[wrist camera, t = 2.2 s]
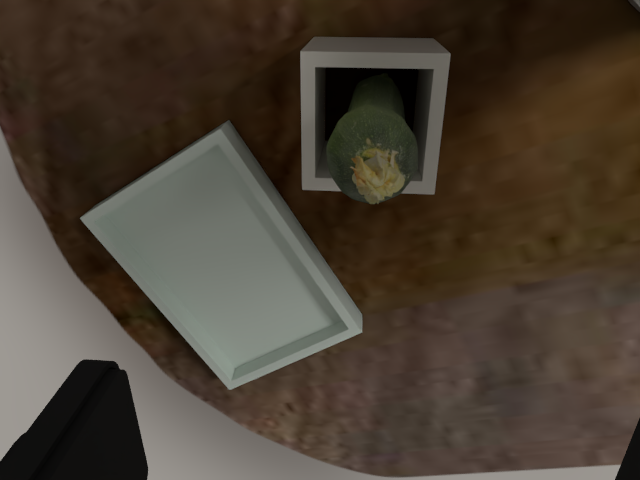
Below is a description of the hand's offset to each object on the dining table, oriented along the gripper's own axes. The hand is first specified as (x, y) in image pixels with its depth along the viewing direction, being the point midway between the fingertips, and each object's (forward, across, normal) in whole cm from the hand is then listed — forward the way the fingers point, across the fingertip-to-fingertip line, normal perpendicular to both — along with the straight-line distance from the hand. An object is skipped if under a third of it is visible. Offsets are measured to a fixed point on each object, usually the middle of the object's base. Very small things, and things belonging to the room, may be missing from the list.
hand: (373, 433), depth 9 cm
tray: (+30, +11, +14) cm, 35 cm away
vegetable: (+30, 0, 0) cm, 30 cm away
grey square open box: (+30, 0, 0) cm, 30 cm away
